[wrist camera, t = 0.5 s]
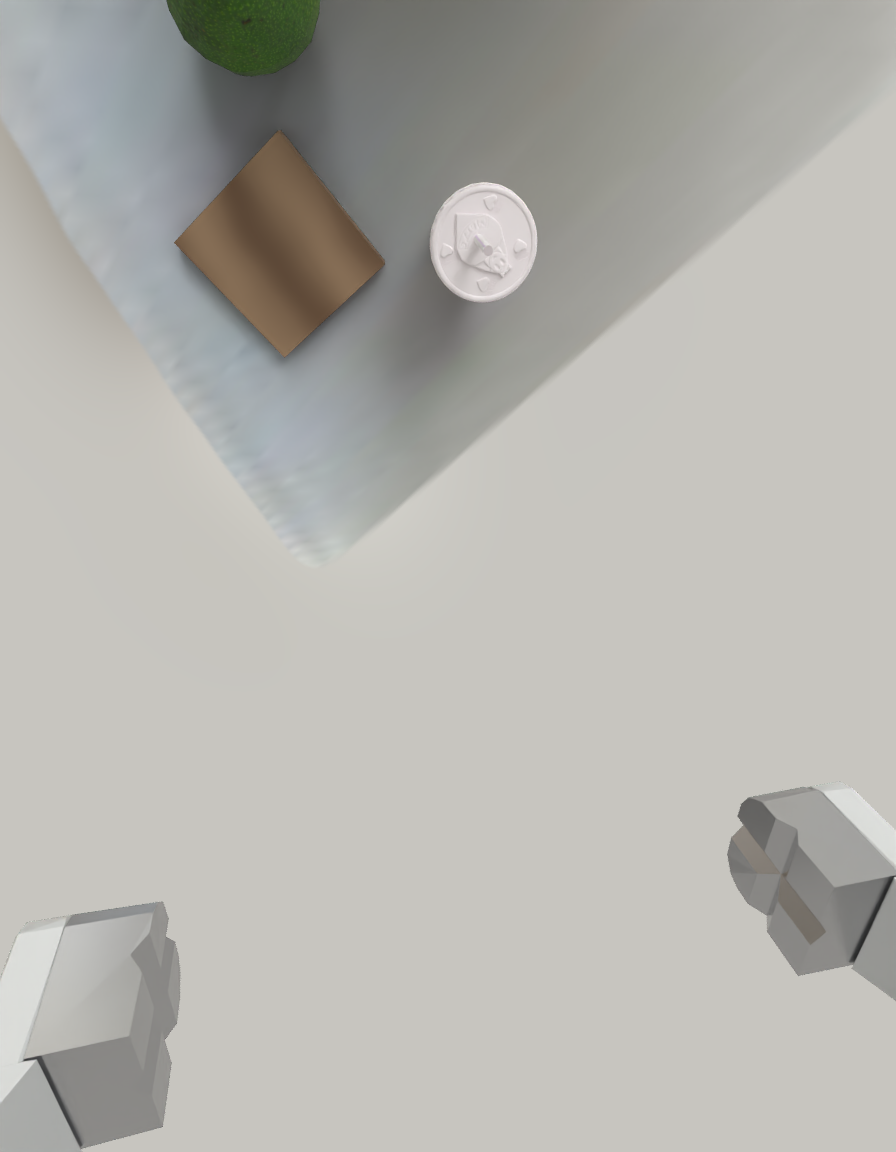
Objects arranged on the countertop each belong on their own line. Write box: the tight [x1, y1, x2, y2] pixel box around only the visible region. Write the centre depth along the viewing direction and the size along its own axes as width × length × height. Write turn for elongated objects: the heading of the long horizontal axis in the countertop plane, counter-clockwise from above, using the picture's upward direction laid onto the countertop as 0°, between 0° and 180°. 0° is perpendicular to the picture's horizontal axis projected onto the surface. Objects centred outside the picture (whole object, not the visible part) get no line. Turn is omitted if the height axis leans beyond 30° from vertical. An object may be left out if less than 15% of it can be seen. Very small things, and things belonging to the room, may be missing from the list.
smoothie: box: [429, 182, 537, 303], centre depth 41 cm, size 6×6×14 cm
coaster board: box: [174, 130, 385, 358], centre depth 46 cm, size 10×10×2 cm
